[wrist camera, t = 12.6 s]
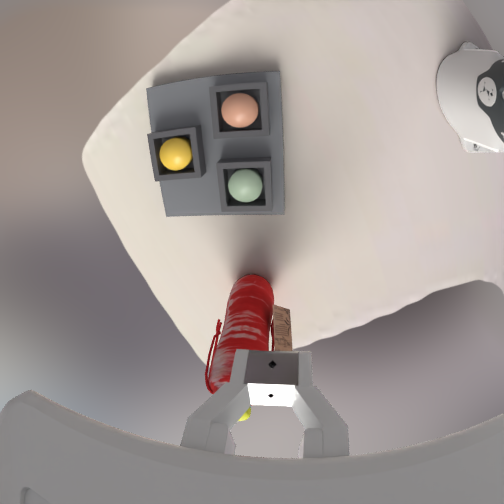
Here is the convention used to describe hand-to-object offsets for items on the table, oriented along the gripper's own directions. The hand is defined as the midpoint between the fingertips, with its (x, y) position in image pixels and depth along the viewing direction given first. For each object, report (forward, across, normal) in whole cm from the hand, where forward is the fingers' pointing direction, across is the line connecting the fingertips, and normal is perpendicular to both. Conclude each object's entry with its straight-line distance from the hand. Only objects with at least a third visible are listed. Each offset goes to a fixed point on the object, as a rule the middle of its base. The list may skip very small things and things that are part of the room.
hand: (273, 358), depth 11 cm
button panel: (+31, +9, -3) cm, 32 cm away
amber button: (+29, +14, -3) cm, 32 cm away
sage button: (+29, +5, +2) cm, 29 cm away
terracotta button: (+29, +5, -8) cm, 30 cm away
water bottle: (+31, +4, +22) cm, 38 cm away
